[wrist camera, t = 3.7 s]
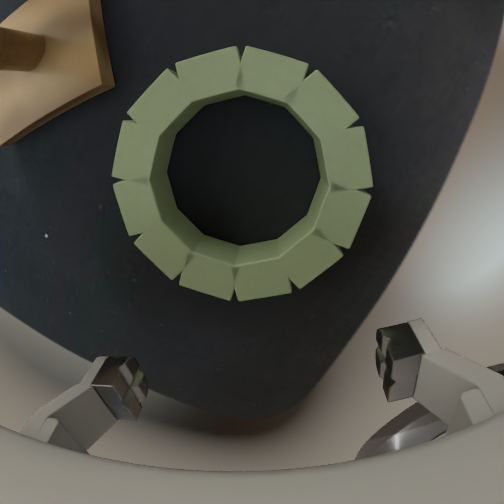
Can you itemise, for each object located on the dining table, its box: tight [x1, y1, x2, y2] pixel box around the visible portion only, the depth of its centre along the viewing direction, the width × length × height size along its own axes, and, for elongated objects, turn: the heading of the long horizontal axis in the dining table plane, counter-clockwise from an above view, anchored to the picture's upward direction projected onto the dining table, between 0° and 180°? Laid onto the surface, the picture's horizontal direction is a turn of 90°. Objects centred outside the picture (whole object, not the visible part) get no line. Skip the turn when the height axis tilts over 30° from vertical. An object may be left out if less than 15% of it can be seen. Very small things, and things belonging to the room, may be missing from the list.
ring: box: [112, 46, 373, 301], centre depth 14 cm, size 12×12×2 cm
